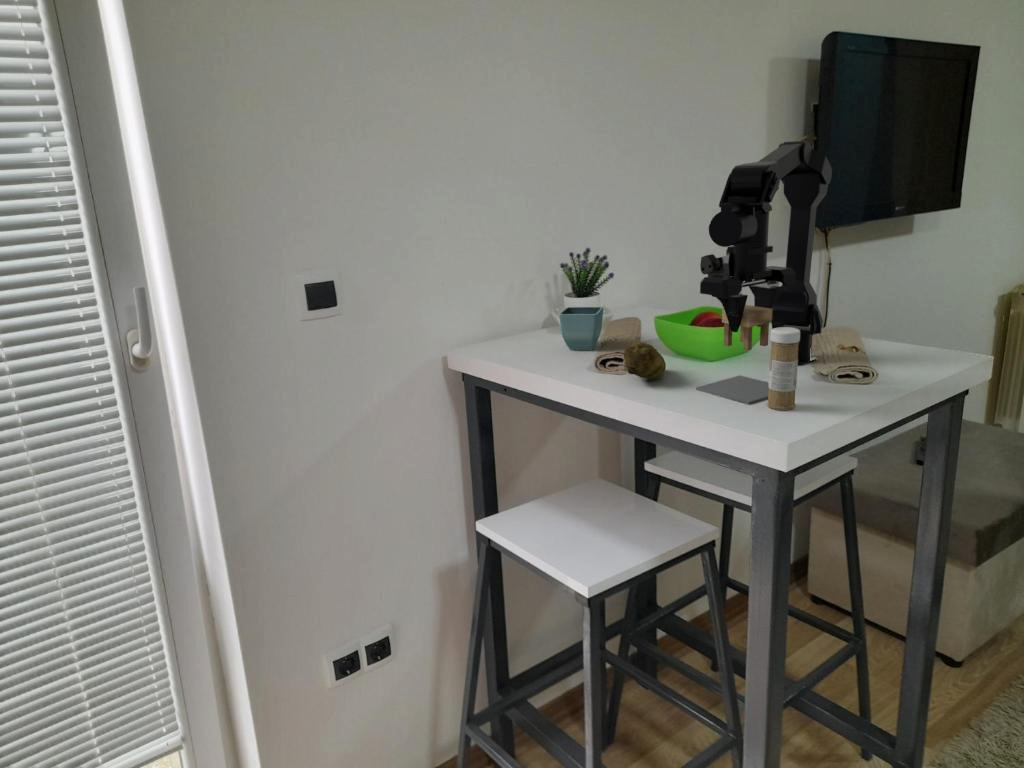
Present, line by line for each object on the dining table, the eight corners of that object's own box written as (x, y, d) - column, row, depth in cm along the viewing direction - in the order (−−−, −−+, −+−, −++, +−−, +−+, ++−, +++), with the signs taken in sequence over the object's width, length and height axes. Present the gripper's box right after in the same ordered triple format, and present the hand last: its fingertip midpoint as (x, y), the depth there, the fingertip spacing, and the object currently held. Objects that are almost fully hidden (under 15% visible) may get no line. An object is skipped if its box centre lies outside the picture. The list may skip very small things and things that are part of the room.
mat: (739, 377, 143) (739, 375, 143) (792, 390, 133) (793, 388, 133) (696, 389, 136) (696, 387, 136) (748, 404, 127) (748, 402, 127)
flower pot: (559, 352, 169) (558, 313, 166) (567, 343, 177) (566, 306, 174) (597, 353, 166) (596, 314, 164) (604, 344, 174) (603, 306, 172)
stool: (743, 339, 136) (744, 304, 135) (770, 345, 132) (772, 308, 130) (721, 345, 133) (722, 309, 132) (747, 351, 129) (749, 313, 127)
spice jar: (774, 401, 128) (778, 325, 124) (800, 406, 125) (805, 328, 121) (762, 408, 125) (766, 330, 121) (788, 413, 122) (793, 333, 118)
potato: (682, 375, 146) (683, 335, 144) (645, 390, 137) (646, 349, 135) (647, 369, 152) (647, 331, 149) (609, 383, 143) (609, 343, 141)
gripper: (748, 233, 139) (745, 315, 143) (677, 243, 129) (676, 330, 133) (800, 236, 130) (794, 323, 134) (727, 246, 120) (724, 340, 124)
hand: (746, 329), depth 132 cm, fingers closed on stool, 6 cm apart
